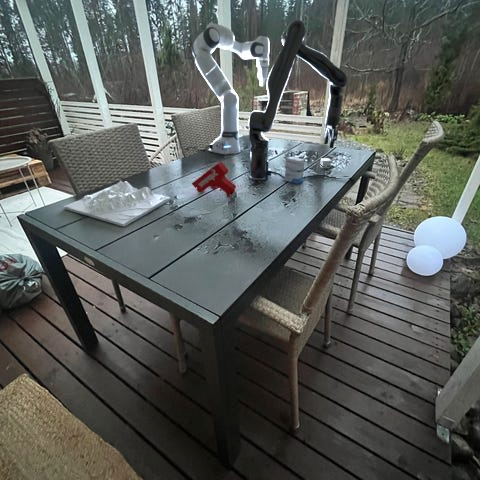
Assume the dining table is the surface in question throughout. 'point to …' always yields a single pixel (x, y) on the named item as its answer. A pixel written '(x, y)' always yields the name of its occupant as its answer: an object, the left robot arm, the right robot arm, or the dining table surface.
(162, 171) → the dining table surface
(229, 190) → the toy gun
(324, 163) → the block
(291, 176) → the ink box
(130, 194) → the relief map
